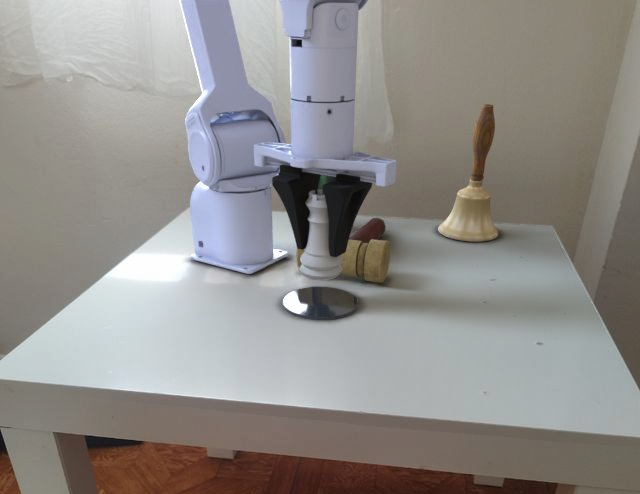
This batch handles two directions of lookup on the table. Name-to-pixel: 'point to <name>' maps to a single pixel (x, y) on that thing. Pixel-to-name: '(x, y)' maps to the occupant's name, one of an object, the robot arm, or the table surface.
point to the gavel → (365, 253)
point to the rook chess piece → (319, 242)
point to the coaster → (320, 303)
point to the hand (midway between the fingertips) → (321, 250)
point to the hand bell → (474, 190)
